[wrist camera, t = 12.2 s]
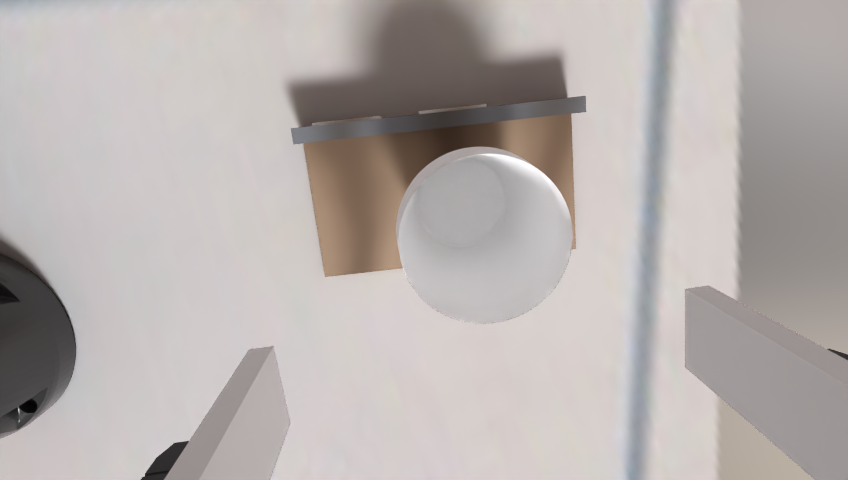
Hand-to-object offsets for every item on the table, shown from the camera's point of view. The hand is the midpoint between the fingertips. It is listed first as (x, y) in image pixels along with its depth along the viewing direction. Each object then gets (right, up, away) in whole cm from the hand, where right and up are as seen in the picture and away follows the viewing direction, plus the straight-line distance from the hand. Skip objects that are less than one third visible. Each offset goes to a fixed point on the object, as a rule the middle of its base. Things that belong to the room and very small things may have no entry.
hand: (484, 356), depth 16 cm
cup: (+1, +6, +21) cm, 22 cm away
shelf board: (-1, +7, +21) cm, 22 cm away
